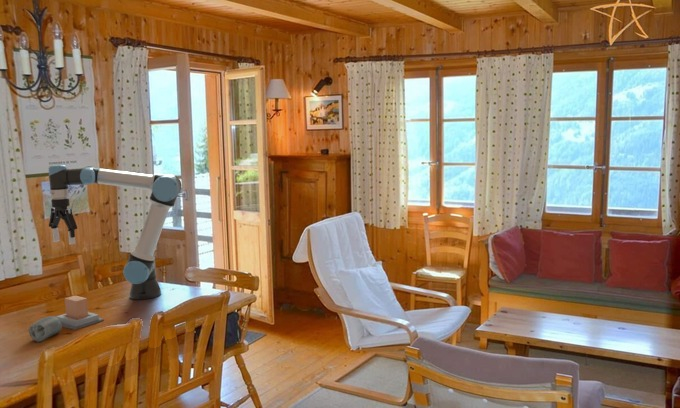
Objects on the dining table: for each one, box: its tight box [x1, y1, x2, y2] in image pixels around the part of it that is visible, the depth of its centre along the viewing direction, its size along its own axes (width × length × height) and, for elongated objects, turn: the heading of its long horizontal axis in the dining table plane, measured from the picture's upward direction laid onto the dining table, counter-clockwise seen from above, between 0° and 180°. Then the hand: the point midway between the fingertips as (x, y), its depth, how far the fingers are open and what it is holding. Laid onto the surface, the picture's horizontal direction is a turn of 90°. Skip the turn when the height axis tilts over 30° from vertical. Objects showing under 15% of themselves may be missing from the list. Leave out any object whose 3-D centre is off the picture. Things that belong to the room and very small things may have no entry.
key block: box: [64, 295, 89, 320], centre depth 260 cm, size 5×9×10 cm, turn 55°
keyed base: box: [55, 311, 104, 331], centre depth 260 cm, size 14×17×3 cm
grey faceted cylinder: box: [28, 315, 63, 343], centre depth 241 cm, size 14×10×10 cm
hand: (64, 243), depth 278 cm, fingers open, 13 cm apart
